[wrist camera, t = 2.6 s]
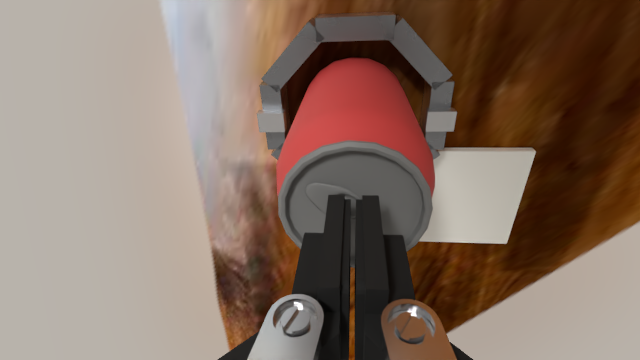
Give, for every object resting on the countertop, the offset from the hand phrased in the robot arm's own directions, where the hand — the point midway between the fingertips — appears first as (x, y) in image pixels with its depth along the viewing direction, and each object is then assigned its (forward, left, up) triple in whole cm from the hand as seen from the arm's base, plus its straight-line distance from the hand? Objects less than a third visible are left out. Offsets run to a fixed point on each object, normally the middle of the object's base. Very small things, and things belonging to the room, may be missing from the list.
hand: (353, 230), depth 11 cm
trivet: (+7, +8, -13) cm, 17 cm away
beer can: (0, 0, -13) cm, 13 cm away
